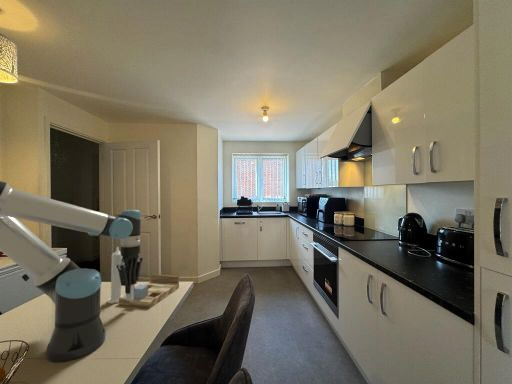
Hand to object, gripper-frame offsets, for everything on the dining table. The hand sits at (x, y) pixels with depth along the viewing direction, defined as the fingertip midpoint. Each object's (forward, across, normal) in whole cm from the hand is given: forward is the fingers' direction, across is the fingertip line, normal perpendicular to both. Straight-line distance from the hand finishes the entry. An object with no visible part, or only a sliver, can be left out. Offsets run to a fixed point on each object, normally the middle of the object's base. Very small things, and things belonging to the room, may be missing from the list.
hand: (129, 299), depth 100 cm
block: (+2, +7, 0) cm, 7 cm away
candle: (+4, +6, +12) cm, 15 cm away
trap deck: (+4, +15, 0) cm, 15 cm away
